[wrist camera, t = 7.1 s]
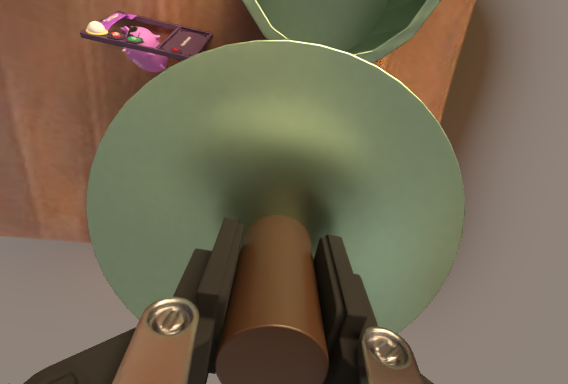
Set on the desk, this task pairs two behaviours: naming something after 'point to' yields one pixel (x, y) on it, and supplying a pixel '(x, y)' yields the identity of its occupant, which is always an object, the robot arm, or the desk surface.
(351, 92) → the tin lid
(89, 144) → the desk surface
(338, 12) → the tin
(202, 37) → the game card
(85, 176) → the desk surface
